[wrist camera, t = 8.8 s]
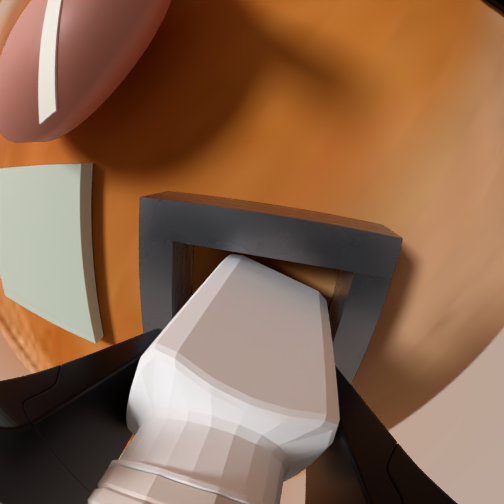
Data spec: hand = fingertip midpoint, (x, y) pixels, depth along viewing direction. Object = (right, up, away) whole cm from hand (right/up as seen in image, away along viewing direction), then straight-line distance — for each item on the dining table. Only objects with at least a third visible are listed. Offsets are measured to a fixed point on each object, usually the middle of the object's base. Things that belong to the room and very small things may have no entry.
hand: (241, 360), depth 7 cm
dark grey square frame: (+1, +1, +3) cm, 3 cm away
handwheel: (-7, +12, -1) cm, 14 cm away
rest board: (-12, +4, +5) cm, 13 cm away
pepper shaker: (+1, +1, +3) cm, 3 cm away
